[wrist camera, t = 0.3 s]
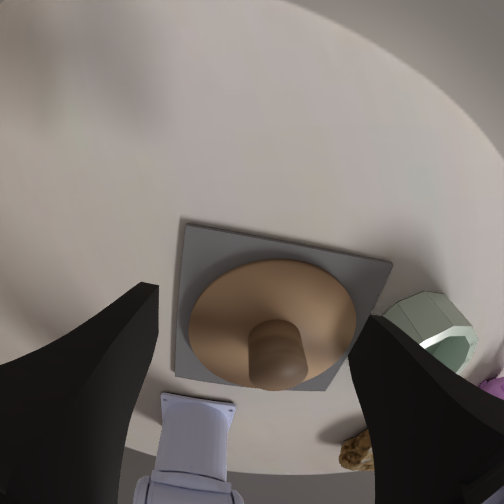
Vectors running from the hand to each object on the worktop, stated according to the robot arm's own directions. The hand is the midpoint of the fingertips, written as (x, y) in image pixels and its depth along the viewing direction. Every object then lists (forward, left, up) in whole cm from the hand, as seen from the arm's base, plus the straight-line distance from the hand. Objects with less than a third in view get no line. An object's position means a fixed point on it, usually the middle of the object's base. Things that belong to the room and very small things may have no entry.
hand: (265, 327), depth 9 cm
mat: (-8, -3, -10) cm, 13 cm away
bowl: (-8, -17, -10) cm, 21 cm away
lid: (-8, -3, -9) cm, 13 cm away
